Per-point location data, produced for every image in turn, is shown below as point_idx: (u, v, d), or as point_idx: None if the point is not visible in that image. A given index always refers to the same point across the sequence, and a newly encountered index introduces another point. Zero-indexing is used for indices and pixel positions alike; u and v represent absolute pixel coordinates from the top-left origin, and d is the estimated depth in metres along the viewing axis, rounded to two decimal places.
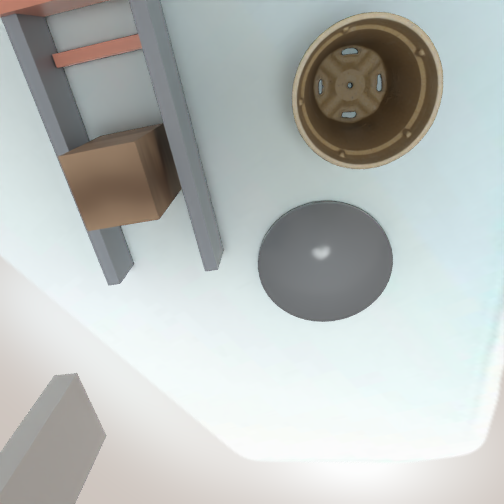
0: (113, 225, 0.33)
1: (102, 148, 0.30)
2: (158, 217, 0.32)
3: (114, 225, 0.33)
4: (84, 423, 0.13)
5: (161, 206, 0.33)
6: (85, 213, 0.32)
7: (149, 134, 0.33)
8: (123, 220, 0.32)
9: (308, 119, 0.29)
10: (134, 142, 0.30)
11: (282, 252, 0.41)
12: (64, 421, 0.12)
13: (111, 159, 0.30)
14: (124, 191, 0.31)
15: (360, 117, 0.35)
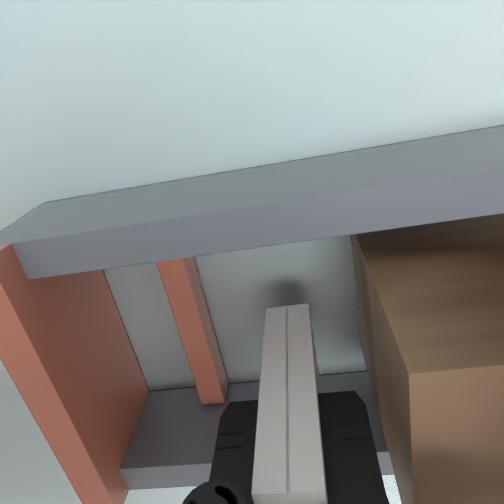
0: None
1: (413, 460, 0.09)
2: None
3: None
4: None
5: None
6: None
7: (380, 280, 0.11)
8: None
9: None
10: (412, 374, 0.08)
11: None
12: None
13: (456, 446, 0.09)
14: None
15: None
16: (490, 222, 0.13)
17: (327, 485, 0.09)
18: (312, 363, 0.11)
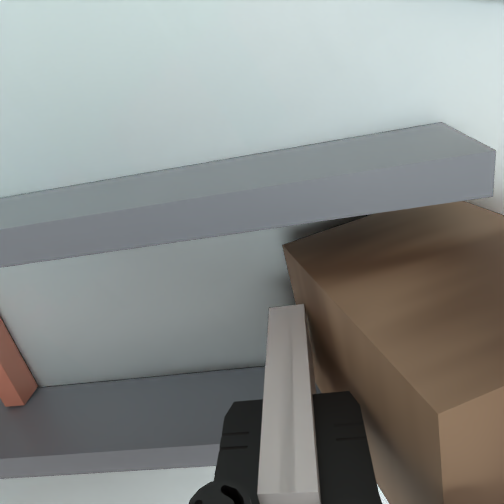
0: None
1: (443, 503, 0.08)
2: None
3: None
4: None
5: None
6: None
7: (350, 308, 0.10)
8: None
9: None
10: (440, 412, 0.07)
11: None
12: None
13: (484, 474, 0.08)
14: None
15: None
16: (422, 226, 0.13)
17: (321, 486, 0.09)
18: (307, 364, 0.11)
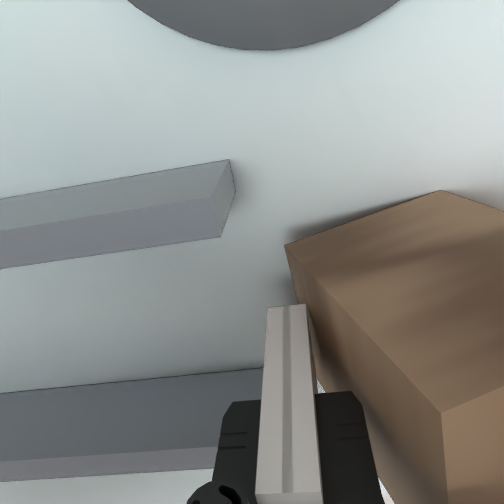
0: None
1: (448, 503, 0.08)
2: None
3: None
4: None
5: None
6: None
7: (352, 308, 0.10)
8: None
9: None
10: (443, 412, 0.07)
11: None
12: None
13: (489, 474, 0.08)
14: None
15: None
16: (425, 225, 0.13)
17: (323, 486, 0.09)
18: (309, 364, 0.11)
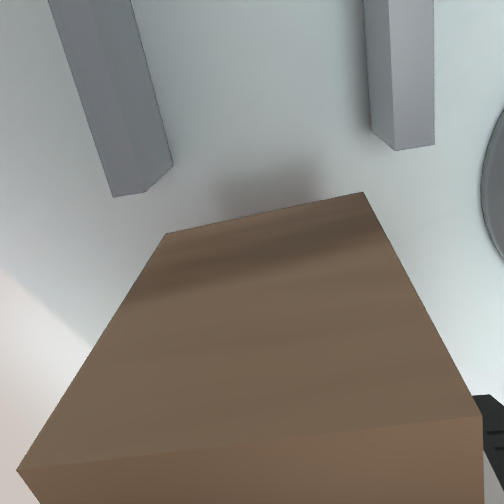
0: None
1: (265, 439, 0.05)
2: None
3: None
4: None
5: None
6: None
7: (405, 277, 0.08)
8: None
9: None
10: (476, 417, 0.05)
11: None
12: None
13: (312, 484, 0.05)
14: None
15: None
16: None
17: None
18: None
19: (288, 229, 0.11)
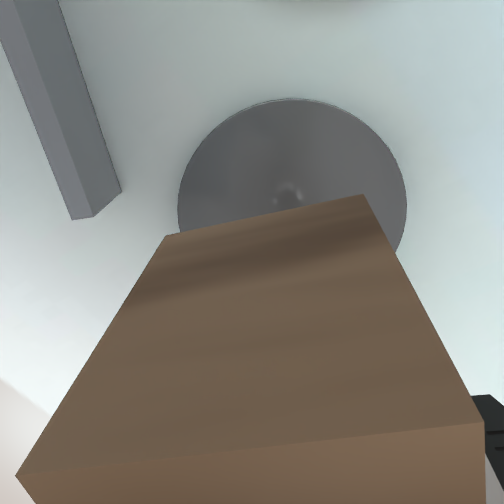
0: None
1: (265, 444, 0.05)
2: None
3: None
4: None
5: None
6: None
7: (405, 279, 0.08)
8: None
9: None
10: (477, 423, 0.05)
11: (217, 194, 0.24)
12: None
13: (313, 491, 0.05)
14: None
15: None
16: None
17: None
18: None
19: (288, 231, 0.11)
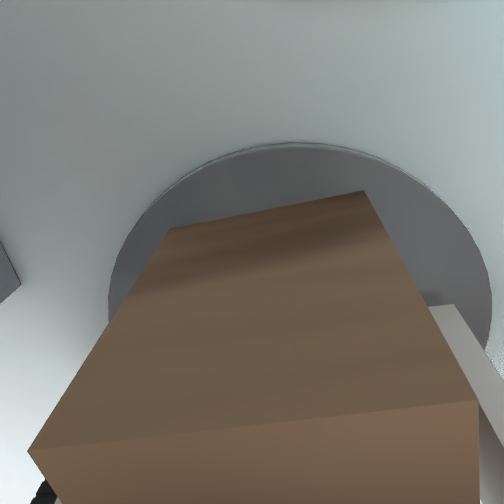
0: None
1: (269, 422, 0.05)
2: None
3: None
4: None
5: None
6: None
7: (404, 271, 0.08)
8: None
9: None
10: (472, 402, 0.05)
11: None
12: None
13: (314, 467, 0.06)
14: None
15: None
16: None
17: None
18: (497, 373, 0.10)
19: (290, 225, 0.11)
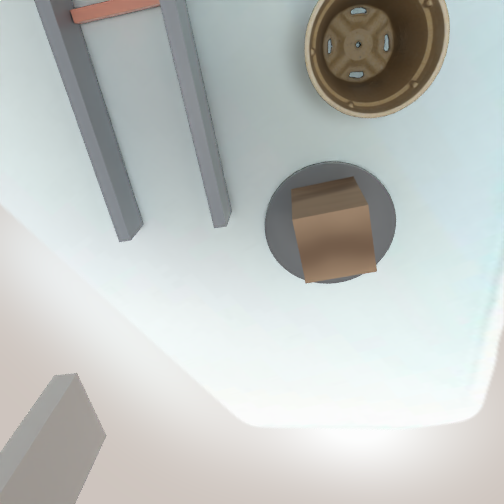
0: (331, 277, 0.35)
1: (335, 211, 0.33)
2: (376, 269, 0.35)
3: (333, 277, 0.35)
4: (84, 423, 0.13)
5: None
6: (307, 267, 0.35)
7: (361, 193, 0.36)
8: (342, 273, 0.35)
9: (319, 70, 0.30)
10: (367, 205, 0.33)
11: (289, 213, 0.42)
12: (64, 421, 0.12)
13: (343, 220, 0.33)
14: (349, 248, 0.34)
15: (367, 77, 0.36)
16: None
17: None
18: None
19: (332, 186, 0.39)
